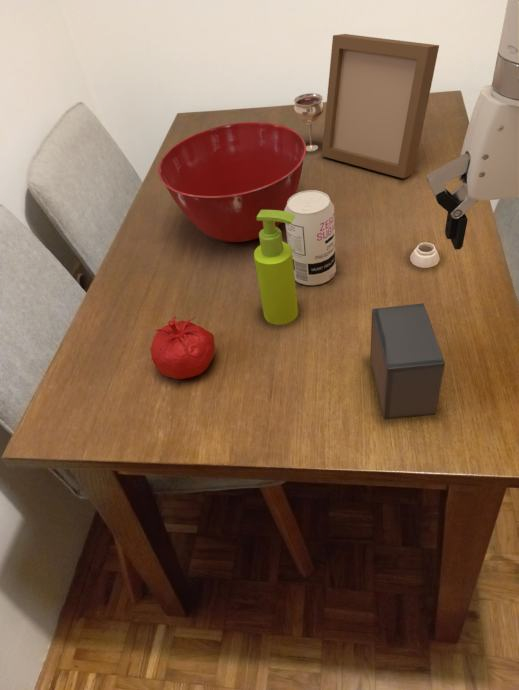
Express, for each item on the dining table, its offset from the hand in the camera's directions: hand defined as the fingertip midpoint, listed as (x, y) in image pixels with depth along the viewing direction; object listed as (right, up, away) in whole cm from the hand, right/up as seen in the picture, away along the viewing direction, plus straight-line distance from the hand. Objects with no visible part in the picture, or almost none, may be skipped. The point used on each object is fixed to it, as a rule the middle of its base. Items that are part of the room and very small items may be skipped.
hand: (499, 237), depth 58 cm
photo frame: (+1, +32, +64) cm, 72 cm away
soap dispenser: (-22, -7, +32) cm, 39 cm away
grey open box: (-6, -18, +18) cm, 26 cm away
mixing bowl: (-30, +13, +52) cm, 62 cm away
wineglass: (-14, +36, +71) cm, 81 cm away
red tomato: (-38, -15, +27) cm, 49 cm away
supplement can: (-17, +1, +38) cm, 42 cm away
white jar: (+3, +3, +37) cm, 37 cm away
